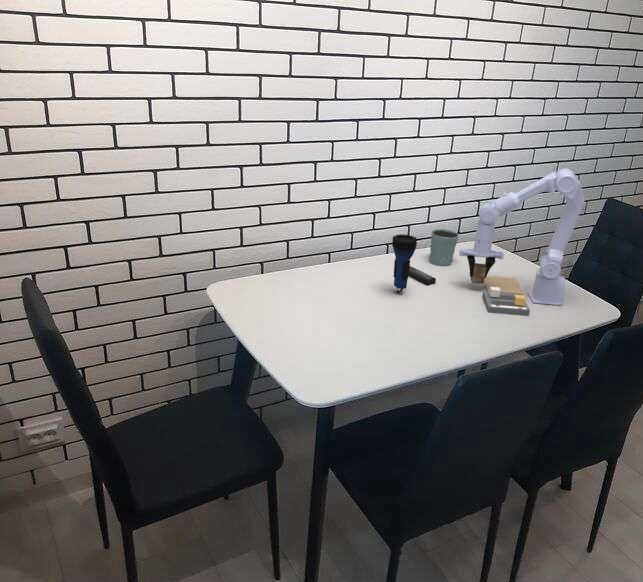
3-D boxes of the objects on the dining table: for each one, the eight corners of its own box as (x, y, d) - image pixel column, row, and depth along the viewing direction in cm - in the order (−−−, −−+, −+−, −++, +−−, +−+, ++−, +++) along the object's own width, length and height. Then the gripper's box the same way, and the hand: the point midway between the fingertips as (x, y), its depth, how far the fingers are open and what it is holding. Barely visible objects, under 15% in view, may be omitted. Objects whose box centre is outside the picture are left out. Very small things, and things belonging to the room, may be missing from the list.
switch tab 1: (497, 294, 193) (499, 287, 192) (499, 297, 191) (500, 290, 190) (488, 293, 194) (490, 286, 193) (490, 296, 191) (491, 289, 190)
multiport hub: (426, 286, 203) (427, 281, 202) (399, 272, 214) (400, 267, 213) (435, 284, 206) (436, 278, 205) (408, 270, 216) (408, 265, 215)
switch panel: (520, 300, 196) (522, 294, 195) (528, 315, 185) (530, 309, 184) (482, 296, 197) (483, 291, 196) (487, 312, 186) (488, 306, 185)
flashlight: (385, 296, 194) (391, 240, 185) (388, 287, 201) (394, 232, 192) (409, 299, 192) (416, 243, 184) (411, 290, 199) (418, 235, 191)
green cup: (423, 258, 227) (426, 229, 222) (445, 256, 231) (449, 228, 226) (436, 268, 219) (440, 238, 214) (459, 265, 222) (463, 236, 217)
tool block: (481, 279, 203) (484, 263, 200) (483, 284, 199) (486, 268, 197) (470, 278, 203) (472, 263, 201) (471, 283, 199) (474, 267, 197)
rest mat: (514, 279, 212) (515, 278, 212) (522, 295, 199) (523, 293, 199) (481, 277, 213) (482, 275, 213) (487, 292, 200) (488, 291, 200)
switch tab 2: (522, 302, 188) (523, 295, 187) (524, 305, 186) (525, 298, 185) (513, 301, 189) (514, 294, 188) (514, 305, 186) (516, 298, 185)
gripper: (503, 237, 198) (496, 273, 203) (460, 234, 199) (455, 270, 204) (507, 244, 191) (500, 281, 197) (463, 240, 192) (457, 278, 198)
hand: (477, 276), depth 200 cm, fingers closed on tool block, 4 cm apart
